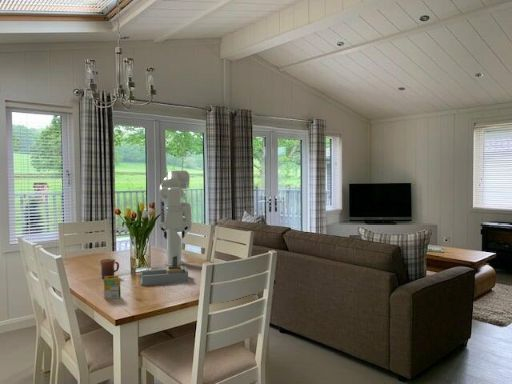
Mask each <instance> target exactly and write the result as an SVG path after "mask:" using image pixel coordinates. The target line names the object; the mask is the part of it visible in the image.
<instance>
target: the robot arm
mask: <svg viewBox="0 0 512 384" xmlns="http://www.w3.org/2000/svg"><path fill="white" fill-rule="evenodd" d="M190 177H191V176H190V173H189V172H188V171H187V170H170V171H169V172H168V173H167V175H166V177H164V178H163V180H162V182H161V184H160V185H159V188H158V190H159V191H158V195H159V198H160V199H161V200H163V201H166V200H167V203H166V204H167V211H165V221H163V222H161V223H159V224H158V226H159V227H160V230H162V232H163V234H164V235H163V237H164V238H165V240H166V244H167V245H166V252H167V254H166V255H167V257H166V258H167V260H166V261H165V262H164V265H166V266H167V267H169V266H172V256H177V266H183V265H184V264H185V263H184V261H183V260H182V239H184V238H185V236H186V235H185V233H186V232H190V231H192V228H193V227H192V206H191V203H189V202H184V201H183V202H182V201H181V200H182V199H183V197H184V195H185V193H184V190H186V189H188V188H189V186H190ZM164 225H165V227H163V226H164ZM179 233H181V236H180V234H179Z"/></svg>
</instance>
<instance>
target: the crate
mask: <svg viewBox="0 0 512 384" xmlns="http://www.w3.org/2000/svg"><path fill="white" fill-rule="evenodd" d="M183 267H184V266H183V265H178V266H177V256H172V266H166V269H167V274H171V273H183Z"/></svg>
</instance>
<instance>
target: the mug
mask: <svg viewBox="0 0 512 384" xmlns="http://www.w3.org/2000/svg"><path fill="white" fill-rule="evenodd" d="M99 263H100V267H101V268H100V273H101V274H100V275H101V278H103V279H104V276H115V273H116V272H118V271H119V269H120V263H119V262H118V261H116V259H115V258H104V259H100V260H99ZM115 264H116V268H115ZM108 278H113V277H108Z"/></svg>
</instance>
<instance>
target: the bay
mask: <svg viewBox="0 0 512 384" xmlns="http://www.w3.org/2000/svg"><path fill="white" fill-rule="evenodd" d="M182 267H183V273H171V274H167V268H164V269H161V268H160V269H150V270H149V269H147V270H141V278H140V280H141V281H140V282H141V283H140V284H141V286H150V285H151V286H153V285H154V286H155V285H164V284H165V285H167V284H176V283H177V284H179V283H189V270H188V268H187V266H182Z"/></svg>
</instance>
